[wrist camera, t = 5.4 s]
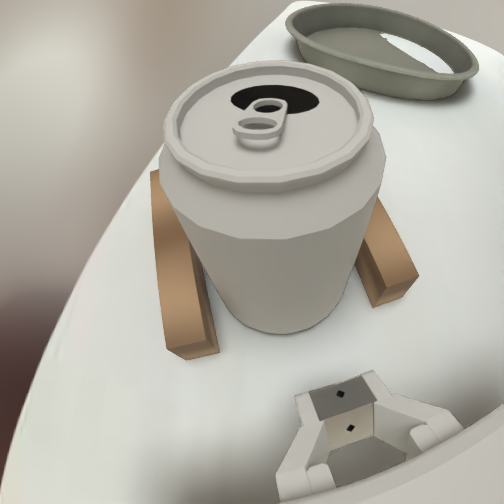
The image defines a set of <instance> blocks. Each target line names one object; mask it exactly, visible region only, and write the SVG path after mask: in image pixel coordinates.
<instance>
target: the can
mask: <svg viewBox="0 0 504 504" xmlns="http://www.w3.org/2000/svg"><path fill="white" fill-rule="evenodd" d="M373 122H374V116H373V113H372V110H371V107H370V104H369V101H368V99H367V98H366V97H365V96H364V95H363V94H362V93H361V92H360V90H359V89H358V88H357V87H356V86H355V85H354V84H353V83H351V82H350V81H348V80H347V79H345V78H343V77H342V76H340V75H338V74H336V73H335V72H333V71H330V70H327V69H324V68H321V67H318V66H315V65H312V64H308V63H301V62H294V61H286V60H275V61H256V62H250V63H245V64H240V65H235V66H231V67H228V68H226V69H223V70H220V71H218V72H215V73H213V74H210V75H208V76H206V77H205V78H203V79H201V80H200V81H198V82H196V83H195V84H193V85H192V86H190V87H189V88H188V89H187V90H186V91H185V92H184V93H183V94H182V95H181V96H180V97H179V98H178V99H177V100H176V101H175V102H174V103H173V104H172V106H171V108H170V110H169V112H168V114H167V116H166V118H165V120H164V123H163V125H164V143H165V144H164V147H163V149H162V152H161V154H160V157H159V179H160V184H161V186H162V188H163V190H164V192H165V194H166V196H167V198H168V200H169V202H170V204H171V206H172V208H173V210H174V212H175V214H176V216H177V218H178V220H179V222H180V223H181V225H182V227H183V229H184V231H185V233H186V235H187V237H188V239H189V241H190V242H191V244H192V246H193V248H194V250H195V252H196V254H197V255H198V257H199V259H200V261H201V263H202V265H203V267H204V268H205V270H206V272H207V274H208V276H209V277H210V279H211V281H212V283H213V285H214V287H215V288H216V290H217V292H218V294H219V295H220V297H221V299H222V300H223V302H224V304H225V305H226V307H227V309H228V310H229V312H230V313H231V314H232V315H234V316H235V317H236V318H237V319H238V320H240V321H241V322H242V323H243V324H245V325H246V326H249V327H251V328H254V329H257V330H259V331H262V332H265V333H276V334H290V333H294V332H298V331H301V330H305V329H308V328H311V327H312V326H314V325H315V324H317V323H318V322H320V321H321V320H323V319H324V318H326V317H327V316H328V315H329V314H330V313H331V311H332V310H333V309H334V307H335V306H336V305H337V303H338V302H339V301H340V299H341V297H342V294H343V292H344V289H345V287H346V284H347V282H348V279H349V276H350V274H351V271H352V269H353V266H354V263H355V260H356V258H357V255H358V252H359V249H360V247H361V244H362V241H363V238H364V235H365V232H366V229H367V227H368V224H369V221H370V218H371V215H372V211H373V208H374V205H375V202H376V199H377V196H378V193H379V189H380V186H381V182H382V177H383V172H384V167H385V161H386V155H385V151H384V148H383V144H382V141H381V137H380V134H379V133H378V131H377V130H376V129H375V127H374V126H373Z"/></svg>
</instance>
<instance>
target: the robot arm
mask: <svg viewBox="0 0 504 504" xmlns="http://www.w3.org/2000/svg"><path fill="white" fill-rule="evenodd" d="M294 397H295V401H296V405H297V409H298V413H299V417H300V421H301V425H302V427H300V428H299V430H298V432H297V434H296V436H295V438H294V440H293V442H292V444H291V446H290V448H289V450H288V452H287V454H286V456H285V458H284V460H283V461H282V463H281V465H280V467H279V469H278V471H277V473H276V474H275V476H276V482H277V487H278V493H279V498H280V503H278V504H504V403H503V404H502V405H501V406H499V407H498V408H496V409H495V410H494V411H492V412H491V413H489V414H488V415H486V416H485V417H483V418H482V419H480V420H479V421H477V422H476V423H474V424H473V425H471V426H470V427H468V428H466V429H464V428H463V427H462V426H461V425H460V423H459V422H458V421H457V420H456V419H455V417H454V416H453V415H452V414H451V413H450V411H449V410H447V409H444V408H440V407H437V406H433V405H430V404H427V403H423V402H420V401H417V400H414V399H410V398H407V397H404V396H401V395H398V394H393V395H391V393H390V392H389V391H388V389H387V388H386V386H385V385H384V384H383V382H382V381H381V379H380V378H379V377H378V375H377V374H376V373H375V371H373V370H370V371H368V372H365V373H363V374H360V375H358V376H355V377H352V378H350V379H347V380H344V381H341V382H338V383H335V384H333V385H329V386H326V387H323V388H319V389H316V390H312V391H309V392H306V393H302V394H298V395H295V396H294ZM371 436H375V437H376V438H378V439H380V440H382V441H384V442H386V443H387V444H389V445H391V446H393V447H395V448H397V449H399V450H401V451H403V452H404V453H406V460H405V462H403V463H401V464H398V465H396V466H394V467H392V468H389V469H387V470H385V471H382V472H380V473H377V474H375V475H372V476H370V477H367V478H364V479H362V480H359V481H356V482H353V483H350V484H347V485H345V486H341V487H338V488H336V485H335V482H334V480H333V477H332V474H331V472H330V469H329V466H328V465H326V463H327V460H328V457H329V454H330V451H332V450H334V449H337V448H340V447H343V446H346V445H348V444H351V443H354V442H357V441H360V440H362V439H365V438H368V437H371Z"/></svg>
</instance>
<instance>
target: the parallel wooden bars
mask: <svg viewBox="0 0 504 504" xmlns="http://www.w3.org/2000/svg"><path fill="white" fill-rule="evenodd" d="M150 181H151V204H152V221H153V236H154V248H155V260H156V270H157V280H158V289H159V297H160V306H161V313H162V321H163V328H164V335H165V342H166V348H167V349H168V350H169V351H171V352H173V353H174V354H176V355H178V356H179V357H181V358H183V359H185V360H189V359H193V358H198V357H202V356H207V355H211V354H216V353H220V352H219V347H218V343H217V338H216V333H215V329H214V324H213V319H212V314H211V309H210V304H209V299H208V294H207V289H206V284H205V279H204V273H203V268H202V263H201V261H200V259H199V257H198V255H197V254H196V252H195V250H194V248H193V246H192V244H191V242H190V241H189V239H188V237H187V235H186V233H185V231H184V229H183V227H182V225H181V223H180V222H179V220H178V218H177V216H176V214H175V212H174V210H173V208H172V206H171V204H170V202H169V200H168V198H167V196H166V194H165V192H164V190H163V188H162V186H161V184H160V179H159V169H158V170H155V171H151V172H150ZM355 266H356V268H357V270H358V273H359V275H360V277H361V280H362V282H363V285H364V287H365V290H366V292H367V294H368V297H369V299H370V302H371V304H372V307H373V308H374V307H377V306H379V305H382V304H385V303H388V302H391V301H393V300H396V299H399V298H401V297H403V295H404V294H405V293H406V292H407V290H408V289H409V288H410V287H411V286H412V284H413V283H414V282H415V281H416V279H417V278H418V277H419V274H418V272H417V270H416V268H415V266H414V264H413V262H412V260H411V258H410V256H409V254H408V252H407V250H406V248H405V246H404V244H403V242H402V240H401V238H400V236H399V234H398V232H397V230H396V228H395V227H394V225H393V223H392V221H391V219H390V217H389V216H388V214H387V212H386V210H385V208H384V207H383V205H382V203H381V201H380V200H379V198H378V196H377V199H376V202H375V205H374V208H373V211H372V215H371V218H370V221H369V224H368V227H367V229H366V232H365V235H364V238H363V241H362V244H361V247H360V249H359V252H358V255H357V258H356V260H355Z"/></svg>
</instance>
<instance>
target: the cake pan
mask: <svg viewBox="0 0 504 504" xmlns="http://www.w3.org/2000/svg"><path fill="white" fill-rule="evenodd" d="M285 25H286V28H287V30H288V31H289V33H290V34H291V35H292V36H293V37H295V38H296V39H297V43H298V46H299V50H300V53H301V55H302V57H303V59H304V60H305V61H306V62H307V63H308V64H312V65H315V66H318V67H321V68H324V69H327V70H330V71H333V72H335V73H336V74H338V75H340V76H342V77H343V78H345V79H347V80H348V81H350V82H351V83H353V84H354V85H355V86H356V87H357V88H360V89H364V90H367V91H371V92H375V93H379V94H383V95H388V96H393V97H398V98H406V99H415V100H436V99H442V98H446V97H449V96H451V95H453V94H454V93H455V92H456V91H457V90H458V88H459V87H460V85H461V84H462V82H463V81H464V79H469V78H471V77H473V76H474V75H476V74H477V72H478V70H479V64H478V61H477V59H476V57H475V56H474V54H473V53H472V52H471V51H470V50H469V49H468V48H467V47H466V46H465V45H464V44H463V43H462V42H461V41H459V40H458V39H457V38H455V37H454V36H452V35H451V34H449V33H447V32H446V31H444V30H442V29H441V28H439V27H437V26H435V25H433V24H431V23H429V22H426V21H424V20H421V19H419V18H416V17H414V16H411V15H408V14H404V13H402V12H398V11H395V10H390V9H386V8H381V7H377V6H371V5H363V4H352V3H329V4H320V5H313V6H309V7H305V8H302V9H300V10H297V11H295V12H293V13H292V14H291V15H289V16H288V18H287V19H286V22H285ZM381 32H382V33H381ZM384 33H387V34H391V35H394V36H398V37H401V38H403V39H406V40H409V41H411V42H414V43H416V44H418V45H420V46H421V47H424V48H426V49H428V50H429V51H431V52H432V53H434V54H435V55H437V56H438V57H440V58H441V59H442V60H443V61H444V62H445V63H446V64H447V65H448V66H449V67H450V68H451V69H452V71H453V72H454V74H444V73H437V72H435V71H434V70H433V69H431V68H429V67H428V66H426V65H425V64H424V63H421V62H419V61H417V60H416V59H414V58H412V57H411V56H409V55H408V54H406V53H405V52H403V51H402V50H400V49H398V48H397V47H395V46H394V45H392V44H390V43H389V42H388V41H387V39H386V38H382V36H381V35H380V34H384Z"/></svg>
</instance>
